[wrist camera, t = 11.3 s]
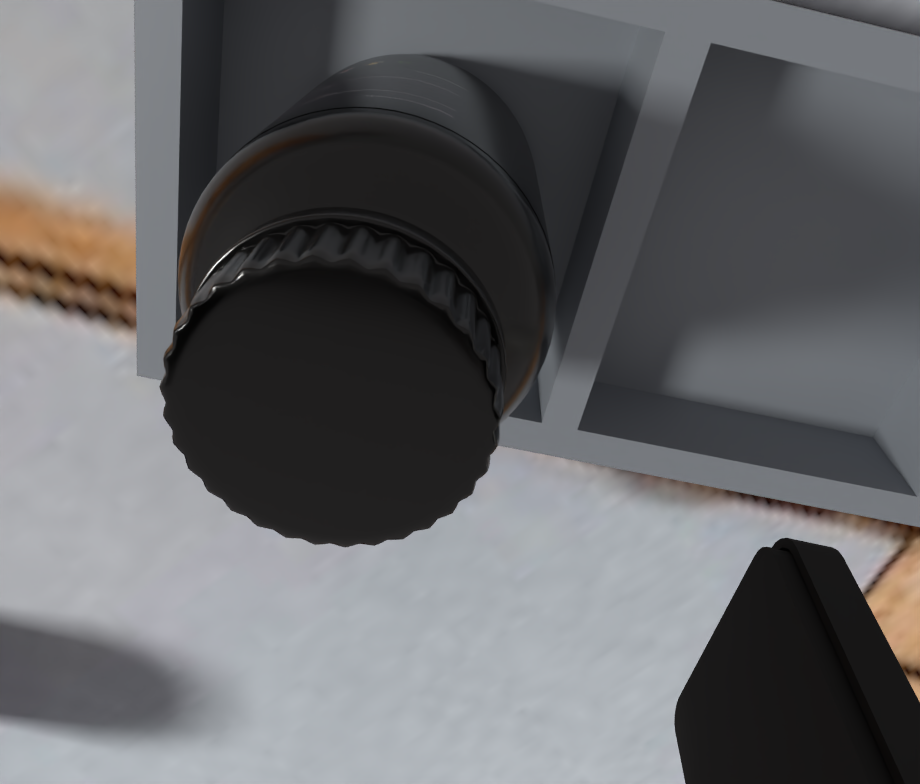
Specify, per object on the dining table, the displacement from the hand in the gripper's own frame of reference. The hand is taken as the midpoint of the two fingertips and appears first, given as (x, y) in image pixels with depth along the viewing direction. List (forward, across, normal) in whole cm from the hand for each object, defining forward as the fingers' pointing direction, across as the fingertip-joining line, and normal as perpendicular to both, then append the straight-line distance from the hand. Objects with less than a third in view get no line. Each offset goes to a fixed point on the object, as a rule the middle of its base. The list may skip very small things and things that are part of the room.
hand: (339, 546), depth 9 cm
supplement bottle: (+14, +1, 0) cm, 14 cm away
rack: (+15, -4, 0) cm, 16 cm away
